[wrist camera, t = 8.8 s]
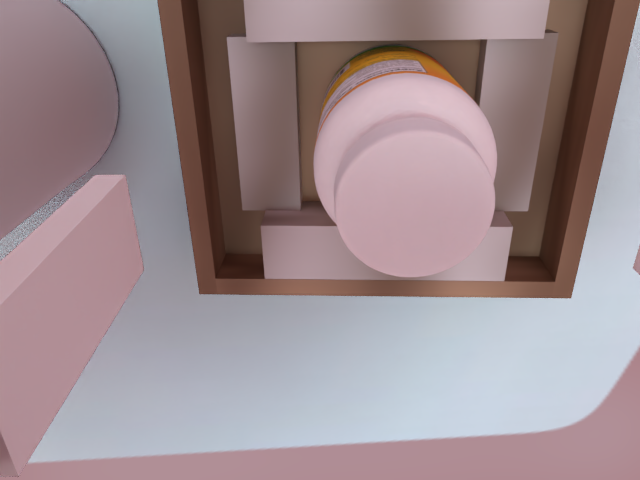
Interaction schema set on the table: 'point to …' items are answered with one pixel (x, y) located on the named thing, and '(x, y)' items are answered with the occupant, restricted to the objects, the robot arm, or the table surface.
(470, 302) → the table surface
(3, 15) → the mug
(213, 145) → the walled box
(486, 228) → the supplement bottle
